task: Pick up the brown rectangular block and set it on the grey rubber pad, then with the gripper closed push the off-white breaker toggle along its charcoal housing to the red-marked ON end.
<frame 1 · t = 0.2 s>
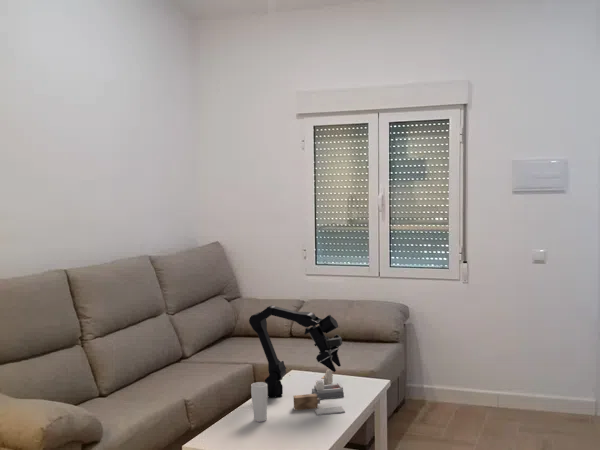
hand: (337, 368, 272), 15 cm above the table, tool tilted 30°, fingers open, 9 cm apart
drinking glass: (260, 420, 253), on the table
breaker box: (327, 394, 282), on the table
architectural model: (328, 385, 298), on the table
toggle: (320, 386, 281), point 4 cm above the table, slide at 0.0 cm
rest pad: (329, 411, 260), on the table
brown rectangular block: (305, 408, 266), on the table
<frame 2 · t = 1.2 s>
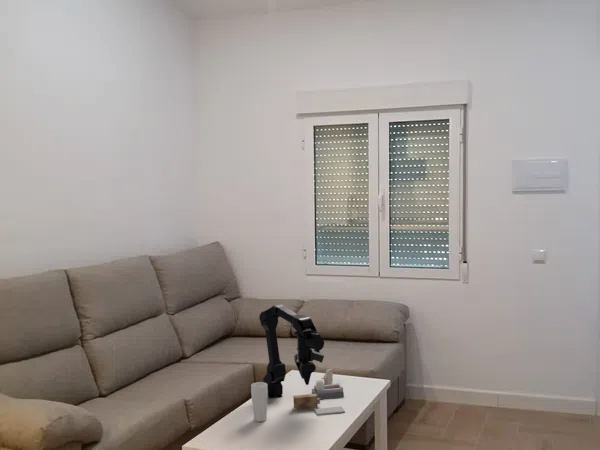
hand: (305, 381, 265), 12 cm above the table, tool pointing down, fingers open, 9 cm apart
nothing on the table moved.
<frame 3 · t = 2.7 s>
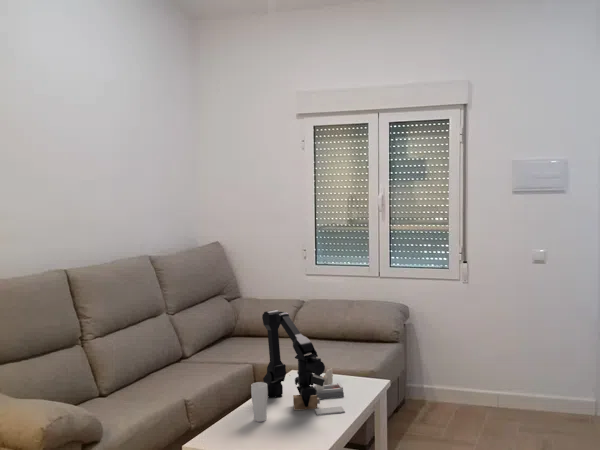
hand: (305, 405, 266), 1 cm above the table, tool pointing down, fingers closed on brown rectangular block, 3 cm apart
brown rectangular block: (305, 407, 266), on the table, touching gripper
everything else where it was.
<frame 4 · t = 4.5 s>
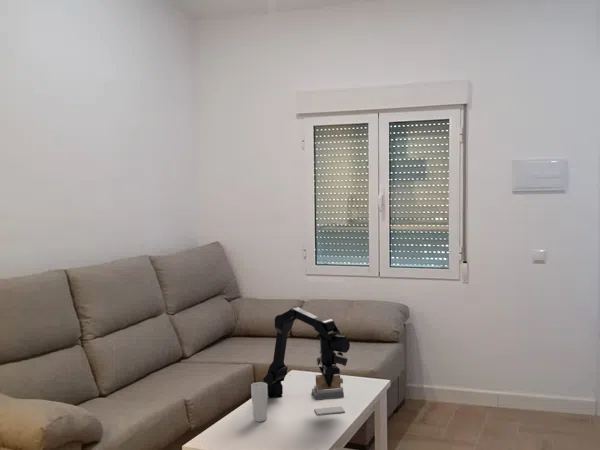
hand: (328, 385, 260), 11 cm above the table, tool pointing down, fingers closed on brown rectangular block, 3 cm apart
brown rectangular block: (328, 388, 260), point 10 cm above the table, touching gripper
everything else where it was.
when the fingers open (3 cm above the table, at t = 6.3 s): brown rectangular block stays where it is, resting on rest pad.
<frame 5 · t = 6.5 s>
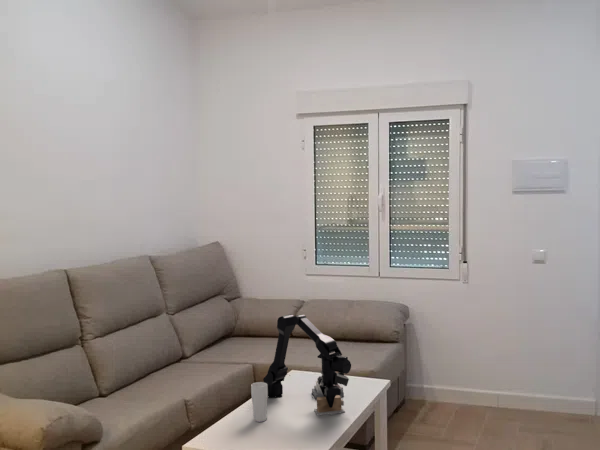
hand: (329, 405, 260), 3 cm above the table, tool pointing down, fingers open, 5 cm apart
brown rectangular block: (329, 410, 260), point 1 cm above the table, touching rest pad
everything else where it was.
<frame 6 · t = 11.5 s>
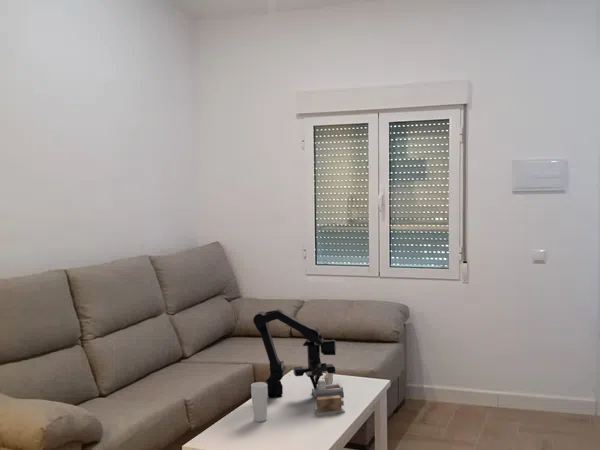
hand: (314, 388, 280), 4 cm above the table, tool pointing down, fingers closed
toggle: (321, 386, 281), point 4 cm above the table, slide at 0.7 cm, touching gripper
everything else where it was.
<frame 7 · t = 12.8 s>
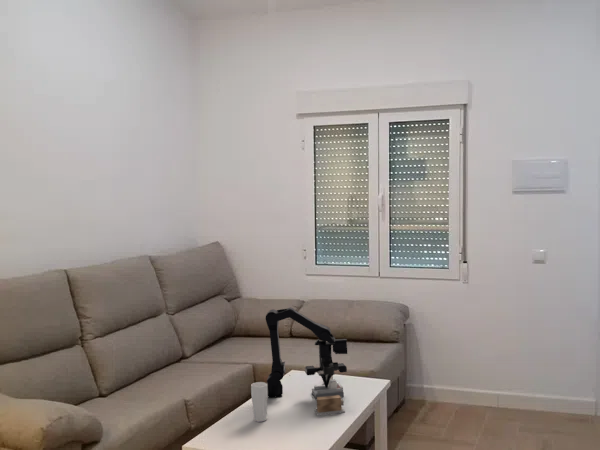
hand: (326, 387, 281), 4 cm above the table, tool pointing down, fingers closed
toggle: (332, 385, 282), point 4 cm above the table, slide at 6.0 cm, touching gripper
everything else where it was.
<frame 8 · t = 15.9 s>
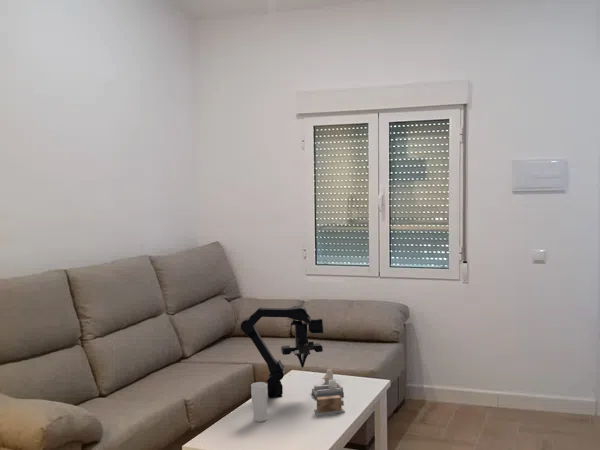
hand: (302, 367, 282), 13 cm above the table, tool pointing down, fingers closed
toggle: (332, 385, 282), point 4 cm above the table, slide at 6.0 cm
everything else where it was.
at the end: toggle slide at 6.0 cm; brown rectangular block inside the target area on the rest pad (0.2 cm from its centre), point 0.6 cm above the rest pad's base; the gripper is holding nothing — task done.
